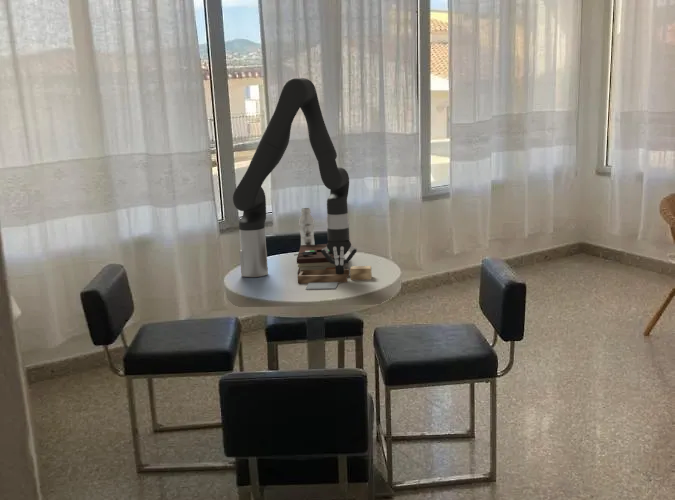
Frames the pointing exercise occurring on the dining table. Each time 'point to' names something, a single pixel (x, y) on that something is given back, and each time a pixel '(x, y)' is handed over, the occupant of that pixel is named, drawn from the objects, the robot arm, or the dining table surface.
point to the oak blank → (360, 272)
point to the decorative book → (314, 258)
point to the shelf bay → (322, 276)
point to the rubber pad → (321, 285)
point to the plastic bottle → (306, 227)
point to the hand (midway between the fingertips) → (340, 275)
